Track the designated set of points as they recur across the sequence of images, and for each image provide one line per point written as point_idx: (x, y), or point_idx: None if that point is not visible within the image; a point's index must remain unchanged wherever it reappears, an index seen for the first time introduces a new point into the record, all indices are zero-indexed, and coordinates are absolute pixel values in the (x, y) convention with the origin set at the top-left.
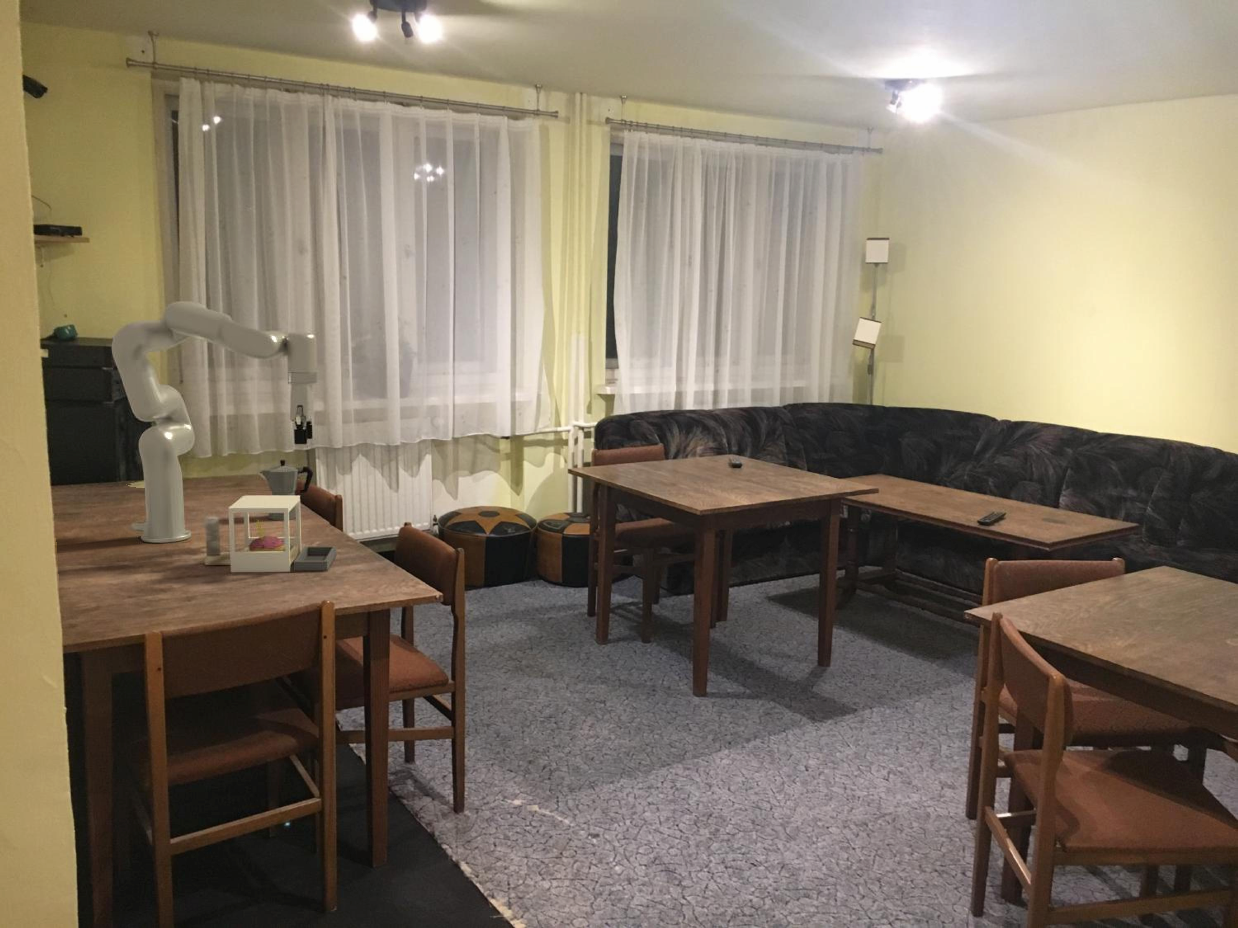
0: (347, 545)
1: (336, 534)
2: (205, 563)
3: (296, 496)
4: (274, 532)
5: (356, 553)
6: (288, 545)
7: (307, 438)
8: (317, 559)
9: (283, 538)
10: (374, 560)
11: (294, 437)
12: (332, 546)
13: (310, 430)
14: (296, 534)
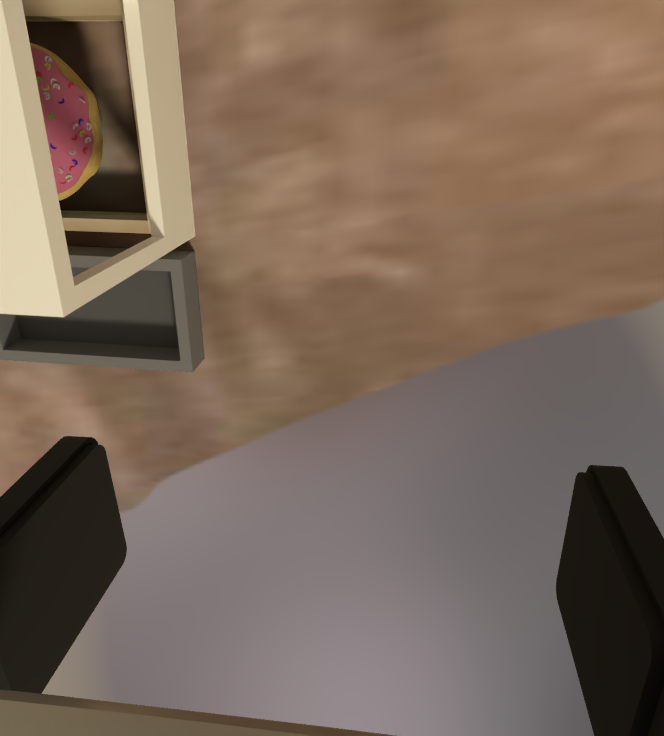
0: (343, 384)
1: (533, 331)
2: None
3: (33, 301)
4: (637, 24)
5: (232, 417)
6: None
7: (564, 548)
8: (129, 304)
9: (145, 178)
10: (152, 469)
11: (16, 485)
12: (187, 359)
13: (590, 687)
14: (145, 240)
